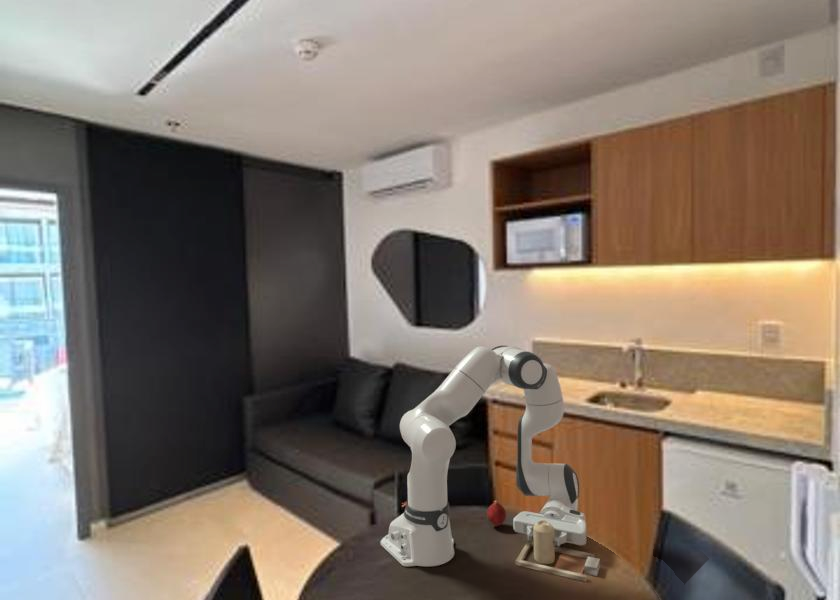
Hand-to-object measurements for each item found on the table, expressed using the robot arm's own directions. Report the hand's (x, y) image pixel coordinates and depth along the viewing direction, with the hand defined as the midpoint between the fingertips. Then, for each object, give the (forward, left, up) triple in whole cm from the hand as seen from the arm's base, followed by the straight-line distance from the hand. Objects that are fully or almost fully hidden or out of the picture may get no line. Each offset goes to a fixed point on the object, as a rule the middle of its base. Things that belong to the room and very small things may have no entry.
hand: (542, 540), depth 137 cm
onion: (-22, +7, -6) cm, 23 cm away
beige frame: (+3, +2, -6) cm, 7 cm away
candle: (0, +1, -6) cm, 6 cm away
